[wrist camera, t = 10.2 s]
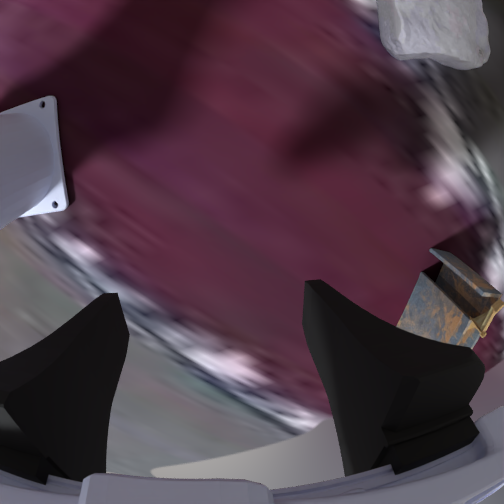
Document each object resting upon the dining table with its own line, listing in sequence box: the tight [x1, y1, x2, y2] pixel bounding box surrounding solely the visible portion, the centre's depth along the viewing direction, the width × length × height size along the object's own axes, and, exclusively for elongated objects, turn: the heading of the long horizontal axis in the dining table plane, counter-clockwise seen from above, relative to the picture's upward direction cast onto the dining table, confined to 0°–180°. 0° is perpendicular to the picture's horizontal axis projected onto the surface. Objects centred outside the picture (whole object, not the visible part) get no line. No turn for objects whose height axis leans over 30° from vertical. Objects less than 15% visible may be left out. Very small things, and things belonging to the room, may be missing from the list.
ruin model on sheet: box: [396, 248, 504, 349], centre depth 22 cm, size 11×3×10 cm, turn 168°
